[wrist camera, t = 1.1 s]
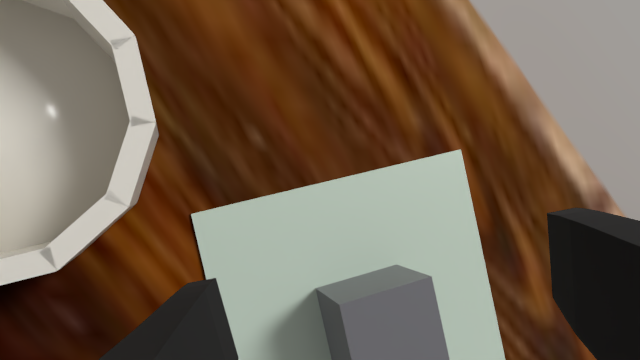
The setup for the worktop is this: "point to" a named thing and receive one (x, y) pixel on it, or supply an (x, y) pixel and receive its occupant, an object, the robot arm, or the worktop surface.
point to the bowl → (67, 130)
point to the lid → (356, 268)
